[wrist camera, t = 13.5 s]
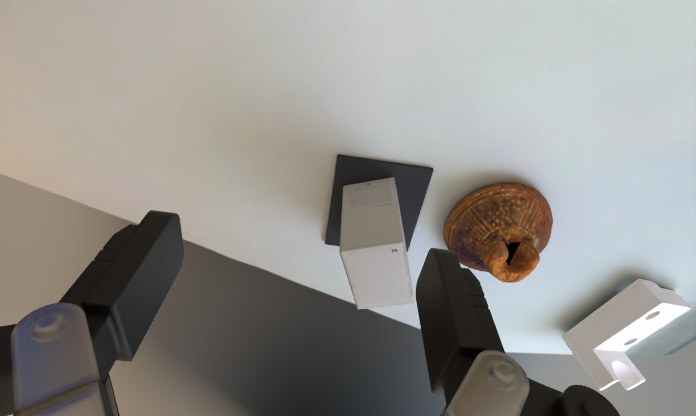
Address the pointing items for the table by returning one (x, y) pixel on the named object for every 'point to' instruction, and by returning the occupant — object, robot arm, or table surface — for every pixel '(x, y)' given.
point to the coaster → (360, 170)
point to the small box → (374, 245)
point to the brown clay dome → (500, 230)
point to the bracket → (622, 331)
